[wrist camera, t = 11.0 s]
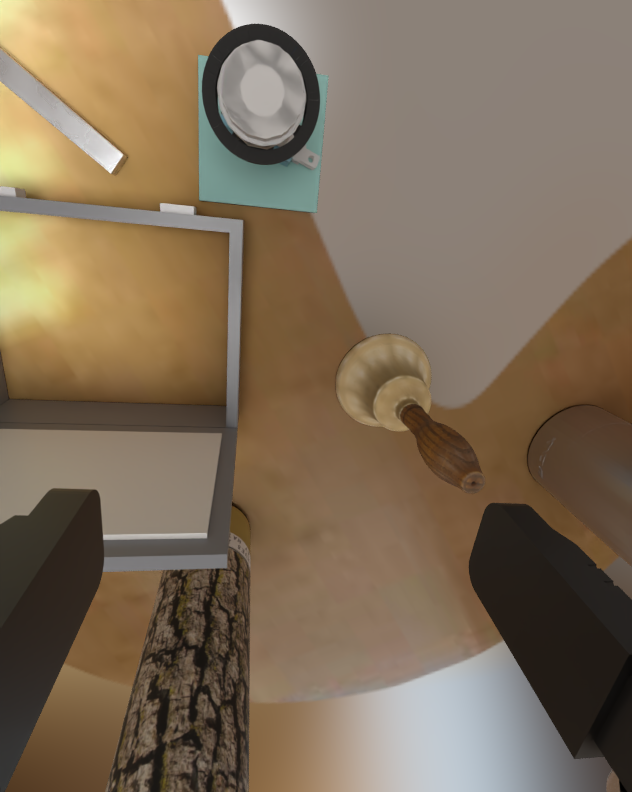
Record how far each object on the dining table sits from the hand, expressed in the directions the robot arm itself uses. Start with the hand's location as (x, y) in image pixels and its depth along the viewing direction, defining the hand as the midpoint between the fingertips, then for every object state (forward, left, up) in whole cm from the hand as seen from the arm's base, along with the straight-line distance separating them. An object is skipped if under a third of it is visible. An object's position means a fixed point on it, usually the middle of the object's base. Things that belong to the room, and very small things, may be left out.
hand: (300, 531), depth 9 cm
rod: (+14, -12, -26) cm, 32 cm away
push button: (0, -11, -25) cm, 27 cm away
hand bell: (-10, +5, -26) cm, 28 cm away
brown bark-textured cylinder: (+4, +20, -26) cm, 33 cm away
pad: (+1, -11, -26) cm, 28 cm away
